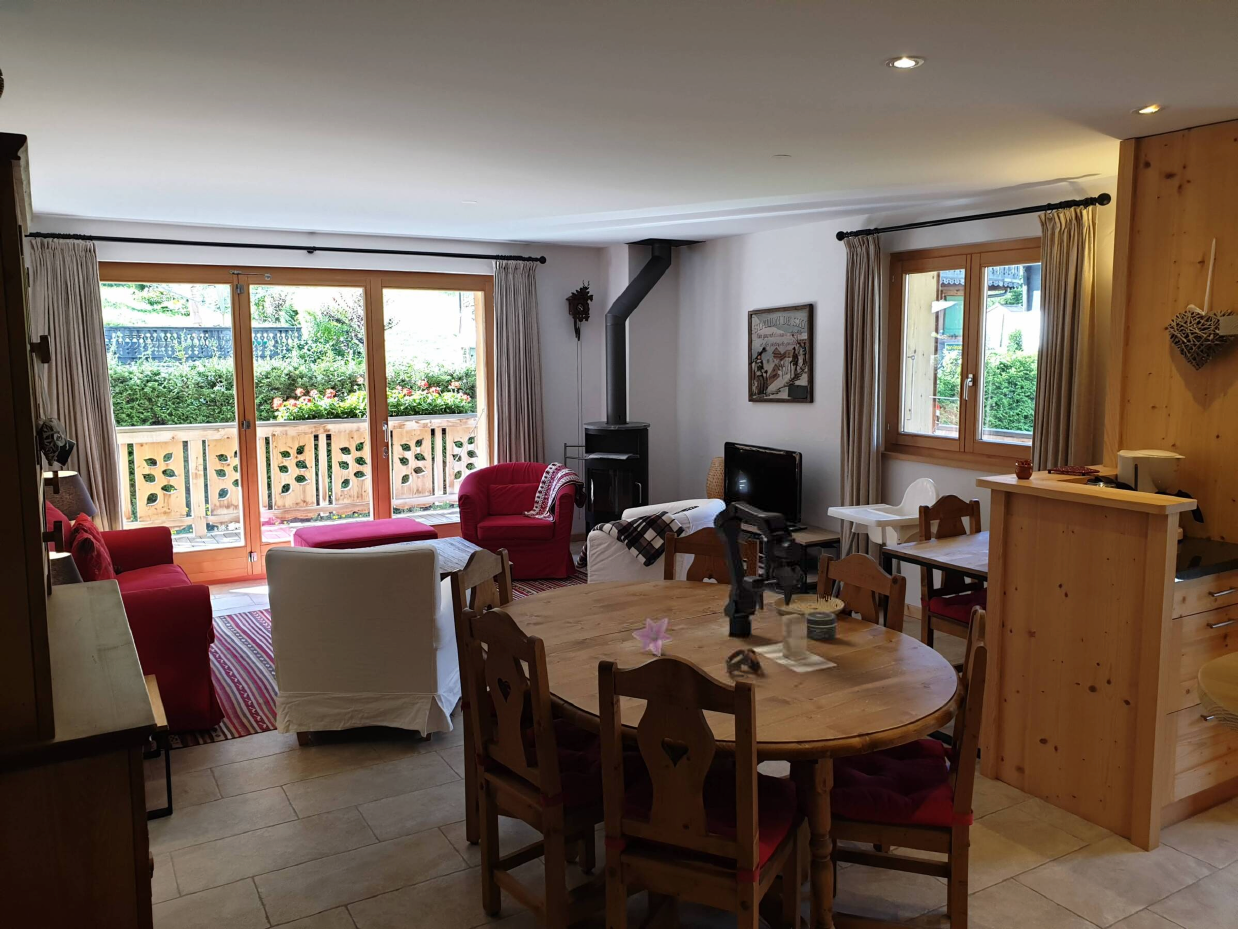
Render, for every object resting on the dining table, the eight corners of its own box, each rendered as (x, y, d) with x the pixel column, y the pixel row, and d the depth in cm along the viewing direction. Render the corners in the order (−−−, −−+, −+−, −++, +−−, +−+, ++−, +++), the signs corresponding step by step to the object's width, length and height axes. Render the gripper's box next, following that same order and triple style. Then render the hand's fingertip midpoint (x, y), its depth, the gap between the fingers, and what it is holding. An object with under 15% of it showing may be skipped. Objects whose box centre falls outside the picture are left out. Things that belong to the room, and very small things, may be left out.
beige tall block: (782, 656, 264) (782, 616, 263) (795, 653, 266) (795, 613, 265) (793, 661, 259) (793, 620, 258) (806, 658, 261) (806, 618, 260)
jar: (836, 644, 277) (837, 620, 276) (803, 643, 279) (803, 619, 278) (835, 634, 286) (836, 611, 285) (803, 633, 288) (803, 610, 288)
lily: (629, 650, 279) (625, 628, 273) (658, 630, 284) (654, 608, 278) (654, 671, 270) (650, 649, 265) (684, 650, 275) (680, 628, 270)
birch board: (750, 651, 272) (750, 648, 272) (786, 645, 277) (786, 641, 277) (799, 676, 250) (799, 672, 250) (837, 668, 256) (837, 665, 256)
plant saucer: (759, 608, 319) (759, 599, 318) (815, 599, 329) (815, 590, 328) (800, 626, 297) (800, 616, 296) (858, 616, 307) (858, 606, 306)
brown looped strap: (762, 684, 246) (746, 660, 245) (732, 694, 251) (717, 670, 250) (770, 659, 257) (756, 636, 256) (742, 669, 261) (728, 646, 260)
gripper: (762, 564, 258) (764, 618, 259) (815, 556, 266) (816, 609, 267) (741, 558, 268) (742, 610, 269) (792, 551, 276) (793, 601, 277)
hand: (774, 608), depth 270 cm, fingers open, 9 cm apart
